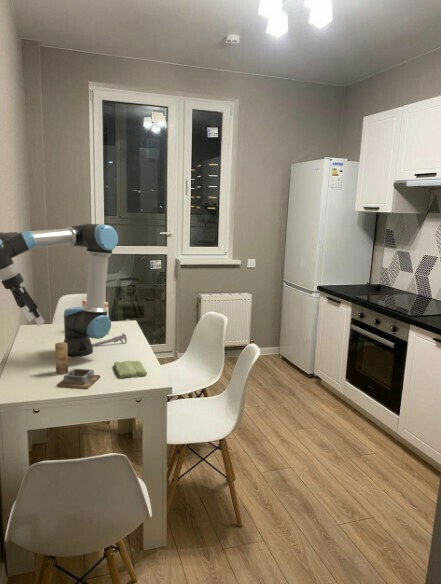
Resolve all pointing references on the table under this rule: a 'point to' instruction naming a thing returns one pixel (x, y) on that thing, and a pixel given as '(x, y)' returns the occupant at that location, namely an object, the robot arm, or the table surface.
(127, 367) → the washcloth
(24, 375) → the table surface
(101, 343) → the caliper
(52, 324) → the table surface
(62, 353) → the oak pin
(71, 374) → the socket board
